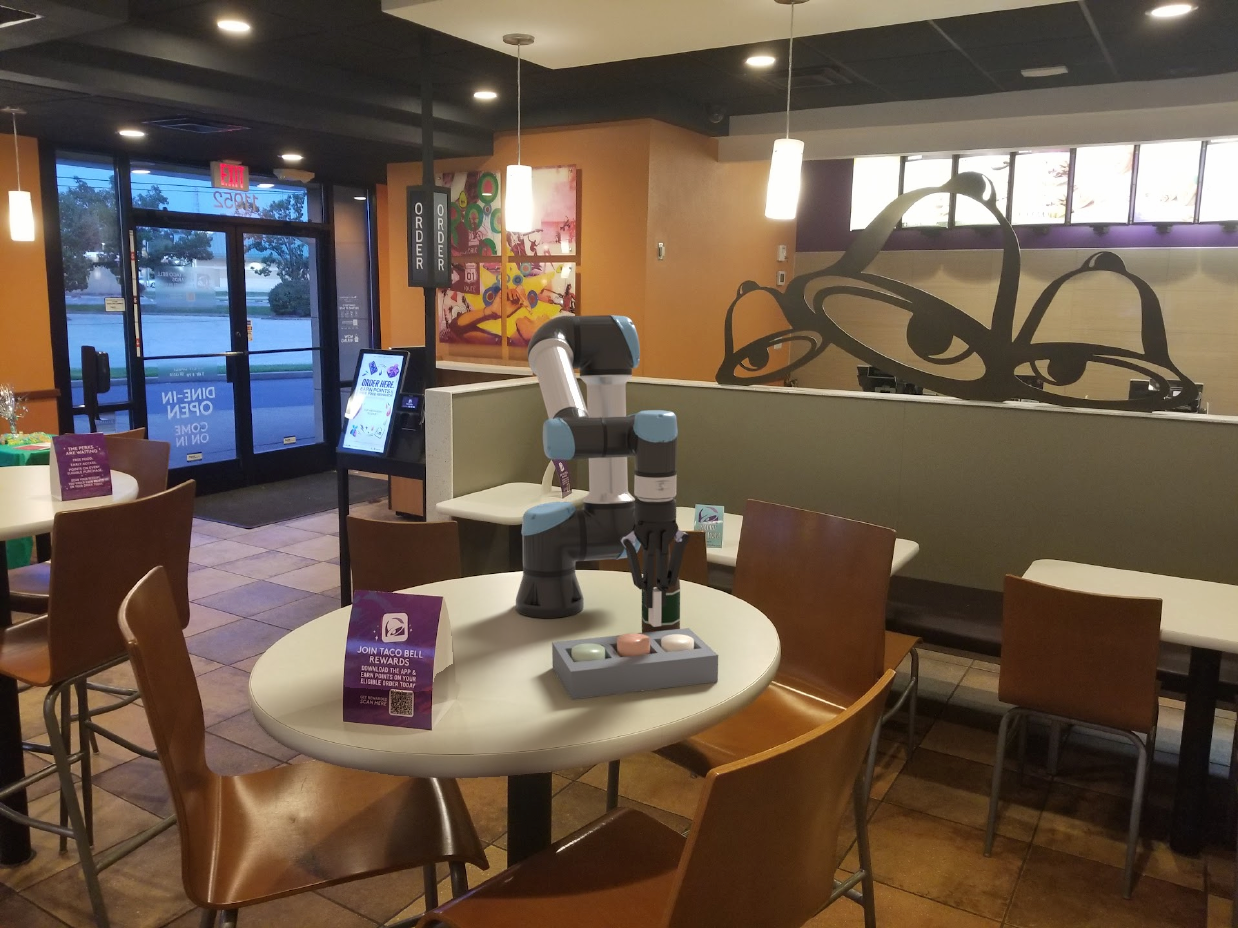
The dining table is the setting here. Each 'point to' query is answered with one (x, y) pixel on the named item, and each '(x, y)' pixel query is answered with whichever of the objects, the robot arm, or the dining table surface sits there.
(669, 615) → the beer bottle
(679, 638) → the button cream
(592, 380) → the robot arm
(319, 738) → the dining table surface
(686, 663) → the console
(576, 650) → the button sage
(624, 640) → the button terracotta
